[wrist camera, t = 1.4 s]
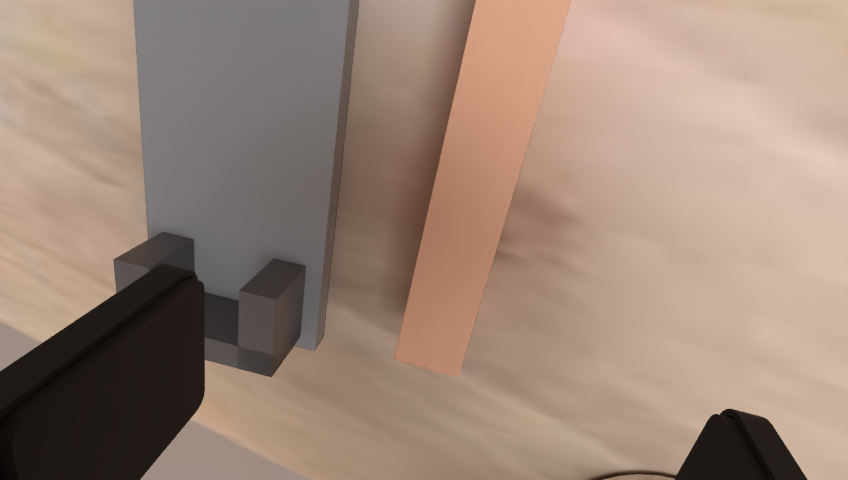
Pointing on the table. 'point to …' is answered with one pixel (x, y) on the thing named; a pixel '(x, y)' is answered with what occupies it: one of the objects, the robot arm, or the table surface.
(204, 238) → the board
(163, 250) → the end caps
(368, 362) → the table surface
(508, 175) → the slat
